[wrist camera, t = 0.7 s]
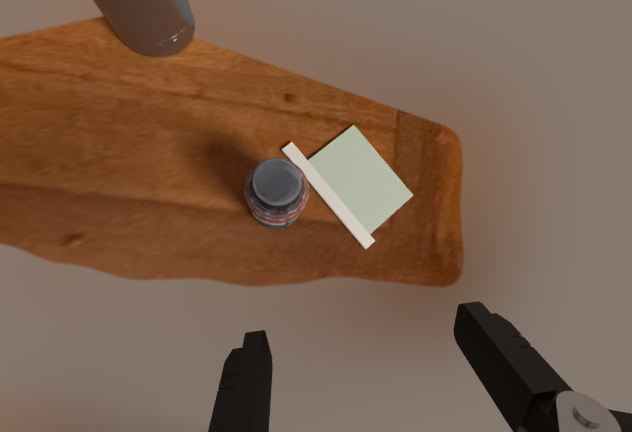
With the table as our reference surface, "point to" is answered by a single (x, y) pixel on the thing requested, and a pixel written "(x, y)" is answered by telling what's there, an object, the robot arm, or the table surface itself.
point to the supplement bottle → (276, 192)
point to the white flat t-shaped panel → (353, 183)
